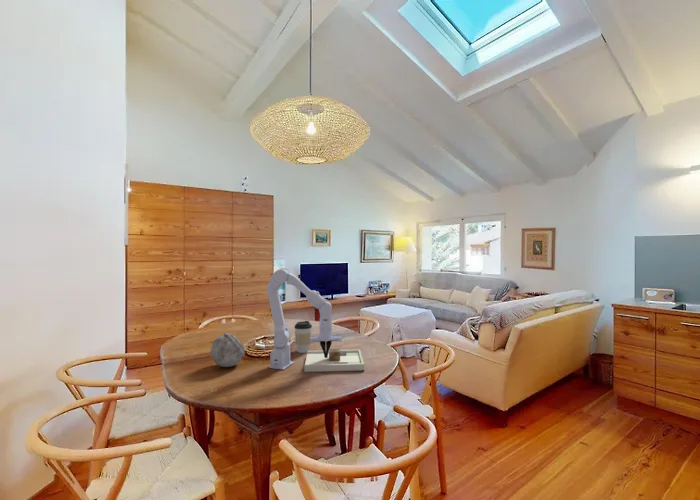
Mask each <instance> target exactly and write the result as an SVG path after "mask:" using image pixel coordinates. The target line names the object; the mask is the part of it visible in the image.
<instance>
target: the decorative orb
mask: <svg viewBox="0 0 700 500" xmlns="http://www.w3.org/2000/svg"><path fill="white" fill-rule="evenodd" d="M245 351H246V349H245V347H244V345H243V343H242V342H241V341H240V340H239V338H238V337H237V336H236V335H234V333H228V332H225V333H224V334H223V335H222V334H221V335H218V337H216V338H215V340H214V341H213V342H212V344H211V347H210V357H211V360H212V361H213V363H215V364H216V365H217V366H219V367H223V368H231V367H233V366H236V365H237V364H238V363H240V362H241V361H242V358H244V356H245Z"/></svg>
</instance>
